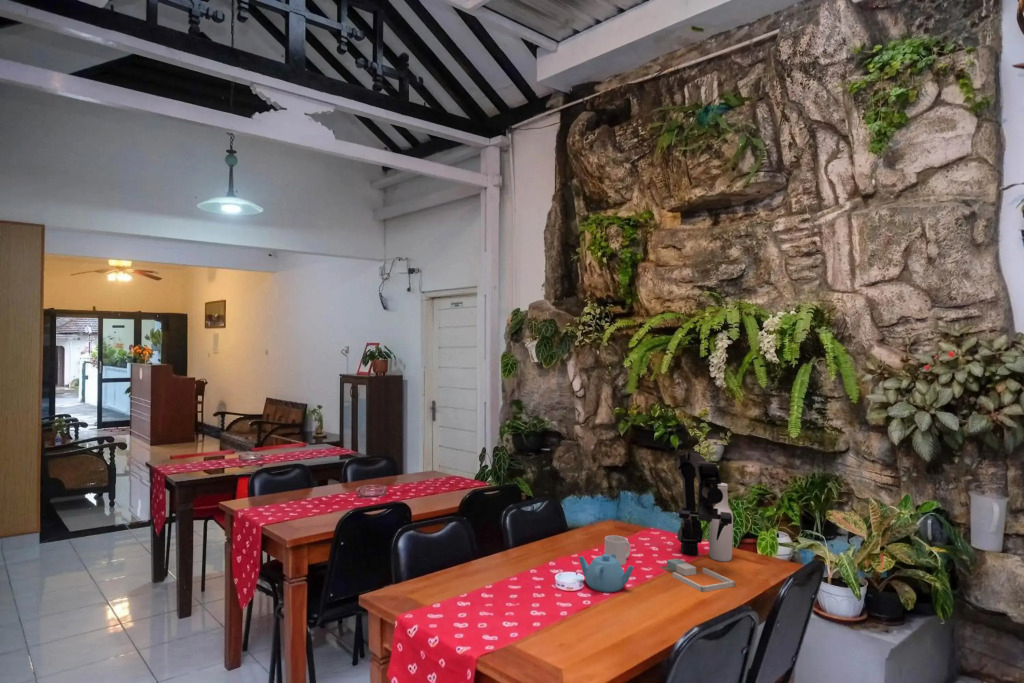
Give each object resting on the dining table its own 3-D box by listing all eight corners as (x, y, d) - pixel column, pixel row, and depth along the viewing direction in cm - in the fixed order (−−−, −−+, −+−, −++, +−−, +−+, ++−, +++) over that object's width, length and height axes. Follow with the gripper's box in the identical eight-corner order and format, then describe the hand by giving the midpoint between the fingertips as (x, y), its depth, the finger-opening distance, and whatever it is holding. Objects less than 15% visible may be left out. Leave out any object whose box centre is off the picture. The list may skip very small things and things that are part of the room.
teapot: (575, 579, 222) (576, 549, 222) (613, 576, 226) (614, 546, 227) (594, 596, 207) (595, 563, 207) (634, 592, 212) (635, 560, 212)
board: (658, 570, 233) (659, 566, 233) (681, 567, 238) (681, 563, 238) (678, 581, 223) (678, 577, 223) (702, 577, 228) (702, 573, 228)
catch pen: (672, 581, 223) (672, 572, 224) (704, 575, 230) (704, 567, 230) (702, 596, 210) (702, 587, 210) (735, 590, 216) (735, 581, 217)
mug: (622, 559, 245) (623, 532, 246) (637, 565, 239) (638, 538, 239) (599, 564, 239) (600, 537, 239) (614, 570, 232) (615, 543, 232)
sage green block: (666, 566, 234) (666, 560, 234) (677, 565, 236) (677, 558, 236) (675, 571, 229) (675, 564, 229) (686, 569, 232) (686, 562, 232)
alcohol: (709, 560, 248) (711, 484, 248) (708, 553, 256) (711, 480, 256) (732, 563, 245) (734, 487, 246) (731, 556, 254) (733, 482, 254)
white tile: (676, 571, 229) (676, 564, 229) (686, 569, 231) (686, 563, 231) (685, 576, 225) (685, 569, 225) (696, 574, 227) (696, 567, 227)
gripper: (679, 499, 228) (677, 541, 228) (733, 504, 222) (731, 548, 222) (680, 492, 238) (678, 532, 239) (732, 497, 233) (730, 539, 233)
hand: (704, 538), depth 233 cm, fingers open, 9 cm apart
